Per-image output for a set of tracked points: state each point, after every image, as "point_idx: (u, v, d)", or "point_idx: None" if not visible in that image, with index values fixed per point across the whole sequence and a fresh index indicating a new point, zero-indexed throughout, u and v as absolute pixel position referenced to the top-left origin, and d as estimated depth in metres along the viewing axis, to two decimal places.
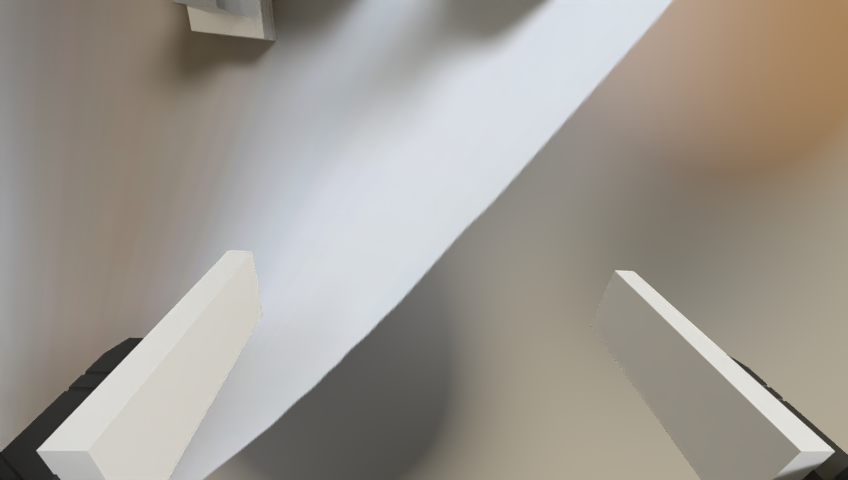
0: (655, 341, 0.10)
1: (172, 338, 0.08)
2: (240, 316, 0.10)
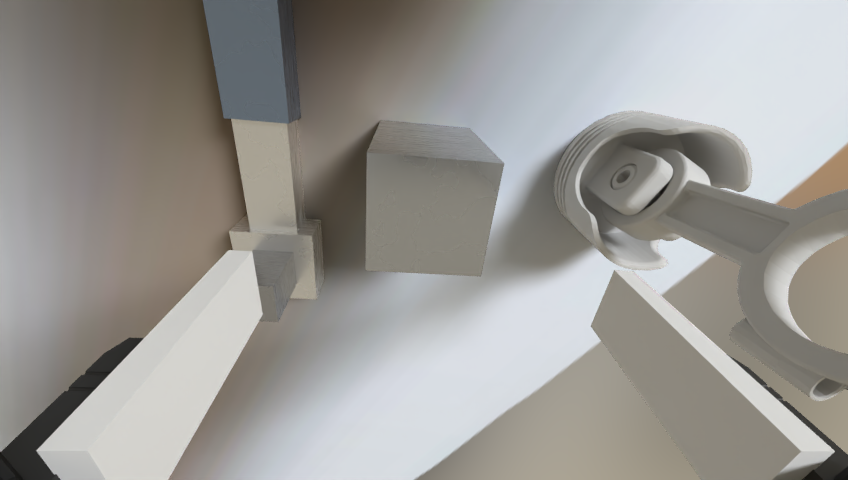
0: (655, 341, 0.10)
1: (172, 338, 0.08)
2: (240, 316, 0.10)
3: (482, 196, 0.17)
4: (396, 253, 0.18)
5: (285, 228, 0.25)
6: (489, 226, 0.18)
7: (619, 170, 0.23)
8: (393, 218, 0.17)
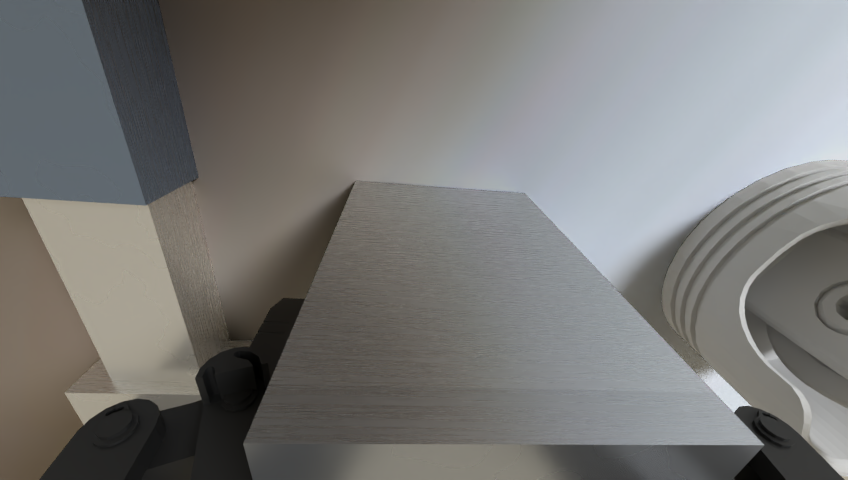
0: None
1: None
2: None
3: None
4: None
5: (179, 378, 0.13)
6: None
7: (837, 288, 0.11)
8: None
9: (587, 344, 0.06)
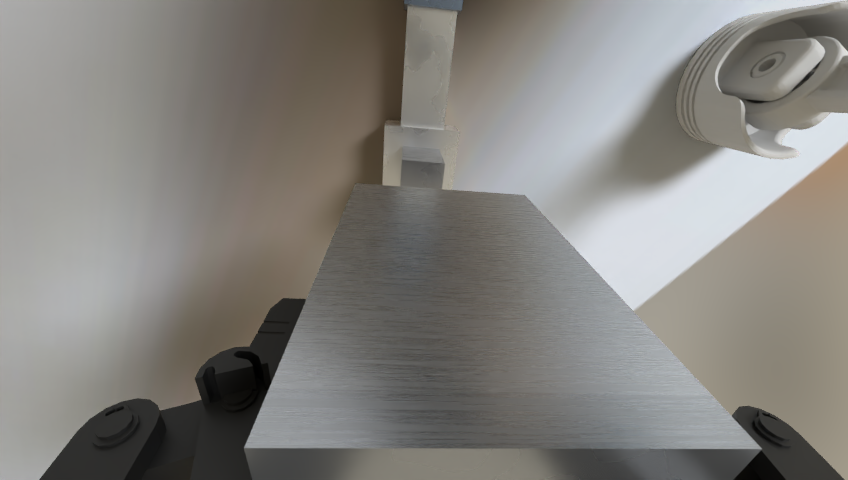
0: None
1: None
2: None
3: None
4: None
5: (433, 125, 0.27)
6: None
7: (759, 62, 0.25)
8: None
9: (586, 347, 0.06)
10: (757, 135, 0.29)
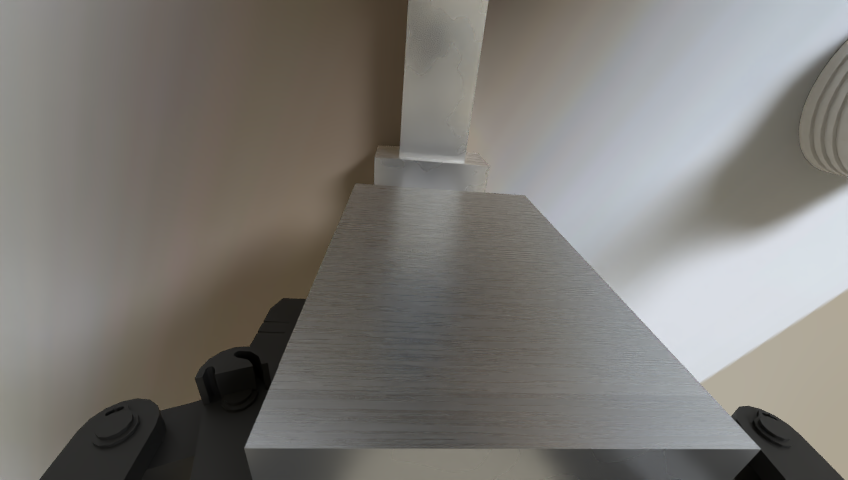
0: None
1: None
2: None
3: None
4: None
5: (449, 156, 0.18)
6: None
7: None
8: None
9: (586, 348, 0.06)
10: None
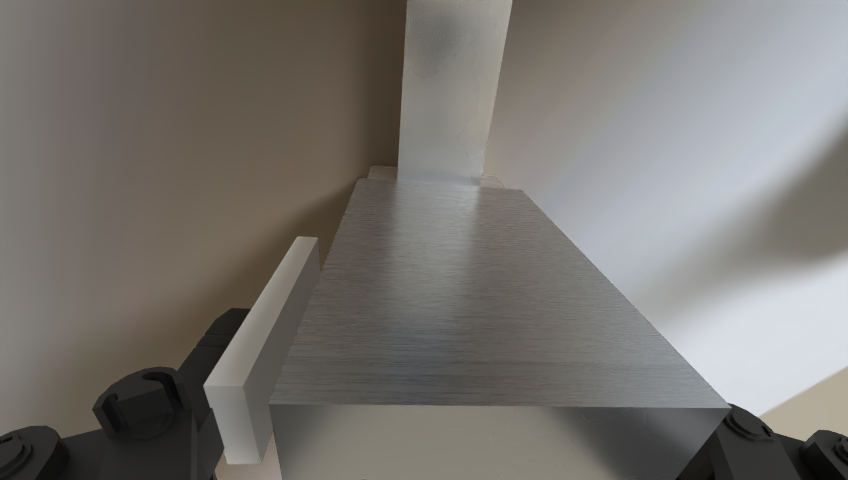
0: None
1: (276, 306, 0.09)
2: (310, 294, 0.12)
3: (638, 475, 0.06)
4: None
5: (460, 182, 0.14)
6: None
7: None
8: None
9: (576, 324, 0.06)
10: None
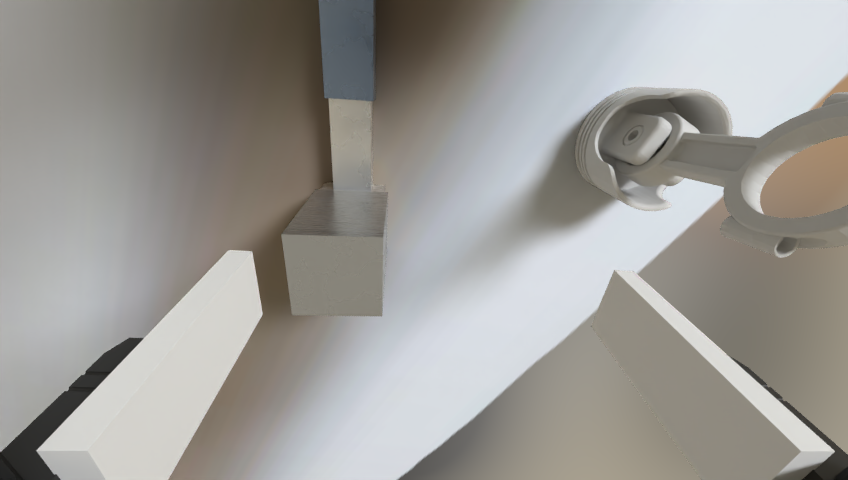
0: (655, 341, 0.10)
1: (172, 338, 0.08)
2: (240, 316, 0.10)
3: (371, 260, 0.23)
4: (314, 302, 0.24)
5: (361, 189, 0.31)
6: (381, 280, 0.24)
7: (629, 131, 0.29)
8: (307, 277, 0.23)
9: (362, 226, 0.24)
10: None
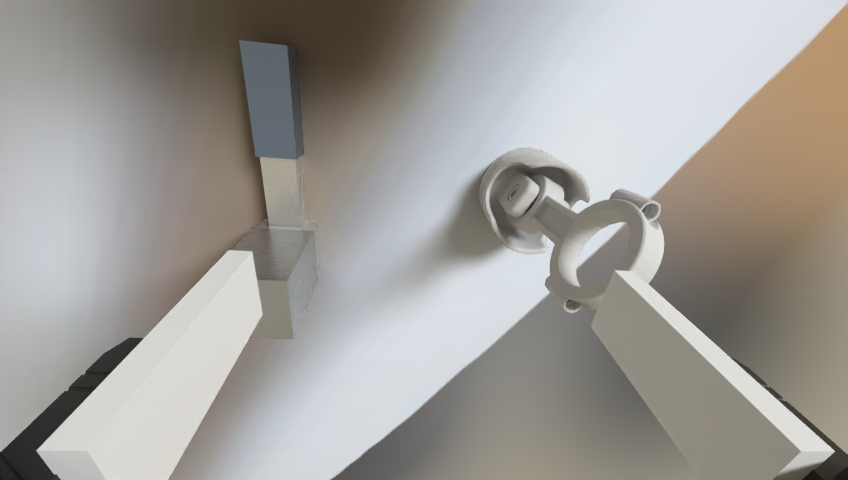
0: (655, 342, 0.10)
1: (172, 338, 0.08)
2: (240, 316, 0.10)
3: (280, 297, 0.29)
4: None
5: (293, 227, 0.37)
6: (289, 312, 0.30)
7: (513, 188, 0.35)
8: None
9: (275, 269, 0.30)
10: None
